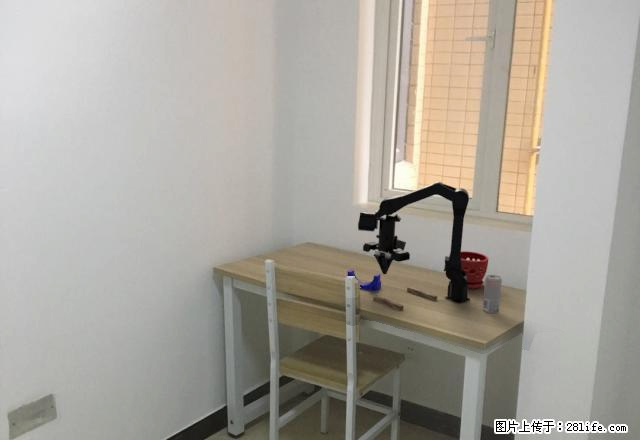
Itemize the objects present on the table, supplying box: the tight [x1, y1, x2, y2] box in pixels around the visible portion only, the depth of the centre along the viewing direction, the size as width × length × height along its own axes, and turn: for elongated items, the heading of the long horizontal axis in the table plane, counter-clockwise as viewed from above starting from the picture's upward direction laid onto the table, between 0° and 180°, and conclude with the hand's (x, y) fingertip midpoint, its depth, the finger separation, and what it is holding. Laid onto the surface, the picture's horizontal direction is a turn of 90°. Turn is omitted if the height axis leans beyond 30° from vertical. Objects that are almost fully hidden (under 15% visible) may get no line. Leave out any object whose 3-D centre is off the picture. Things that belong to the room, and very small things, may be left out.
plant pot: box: [461, 250, 489, 289], centre depth 229 cm, size 13×13×12 cm
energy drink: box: [482, 274, 503, 314], centre depth 201 cm, size 5×5×12 cm
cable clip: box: [346, 269, 382, 292], centre depth 223 cm, size 12×4×6 cm, turn 65°
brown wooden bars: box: [372, 286, 438, 311], centre depth 211 cm, size 13×19×2 cm
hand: (384, 274), depth 218 cm, fingers closed
